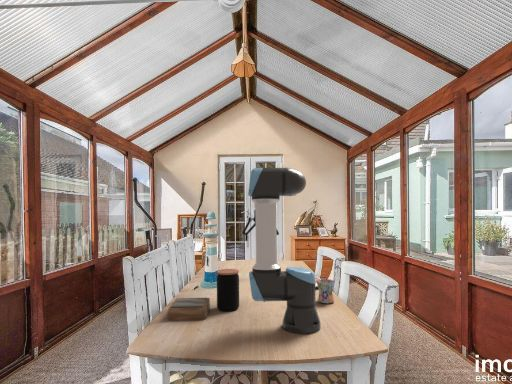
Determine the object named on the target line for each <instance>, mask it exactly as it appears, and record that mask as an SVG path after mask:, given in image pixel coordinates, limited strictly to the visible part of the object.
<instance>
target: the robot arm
mask: <svg viewBox="0 0 512 384" xmlns="http://www.w3.org/2000/svg"><path fill="white" fill-rule="evenodd" d="M306 186H307V180H306V177H305V176H304V174H303V173H302V172H301V171H299V170H297V169H295V168H291V167H257V168H256V167H255V168H253V169H251V172H250V177H249V183H248V194H247V195H248V197H251V202H253V204H254V211H253V217H248V219H247V222H246V225H245V227H244V228H243V230H242V234H243V235H244V236H245V237H244V241H245V242H246V244H247V245H246V248H249V244H250V243H249V241H250V240H249V239H250V236H249V234H250V233H251V231H253V229H255V264H253V266H252V270H251V271H249V272H248V277H249V284H250V292H251V297H252V300H253V301H254V302H263V303H266V302H286V308H285V310H284V311H285V312H284V314H283V318H282V328H283V329H285V330H286V332H287V331H288V332H290V333H294V334H312V333H316V332H319V331H320V330H321V320H320V316H319V313H318V312H317V307H316V306H317V305H316V303H317V301H316V300H317V299H316V287H315V284H316V282H315V277H316V276H315V272H314V271H312V270H311V269H309V268H304V267H300V266H299V267H298V266H288V267H287V266H286V268H285V271H282V267H281V266H280V264H279V262H278V244H277V240H278V239H277V236H278V235H280V233H279V231H278V229H277V204H278V203H279V202H280V197H295V196H297V195H298V194H300V193H302V192H303V191H304V189H305V188H306ZM251 222H254V223H253V225H251V227H250V228H249V229H248V227H249V225H250V223H251ZM247 229H248V230H247Z"/></svg>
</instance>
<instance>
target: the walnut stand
mask: <svg viewBox="0 0 512 384" xmlns="http://www.w3.org/2000/svg"><path fill="white" fill-rule="evenodd" d="M210 308H211V307H210V297H177V298H175V299H174V301H173V302H172V303H171V305H170V306H169V307H168V309H167V311H168V313H167V317H168V318H167V319H168V321H189V320H190V321H196V320H197V321H200V320H201V321H202V320H204V321H205V320H206V319H207V316H208V313H209V310H210Z"/></svg>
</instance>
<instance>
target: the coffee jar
mask: <svg viewBox="0 0 512 384" xmlns="http://www.w3.org/2000/svg"><path fill="white" fill-rule="evenodd" d="M216 273H217V276H216V307H217V309H218V311H220V312H225V313H226V312H227V313H228V312H234V311H237V310H238V309H239V307H240V276H239V273H240V271H239V269H237V268H222V269H218V270H217V271H216Z"/></svg>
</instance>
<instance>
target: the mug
mask: <svg viewBox="0 0 512 384" xmlns="http://www.w3.org/2000/svg"><path fill="white" fill-rule="evenodd" d="M316 282H317V285H318V287H317V289H318V296H317V299H316V300H317V301H316V302H319V303H321V304H333V303H334V302H335V299H334V295H333V289H334V284H335V283H336V281H335V280H334V279H328V278H322V279H321V278H320V279H318V280H316Z"/></svg>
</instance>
